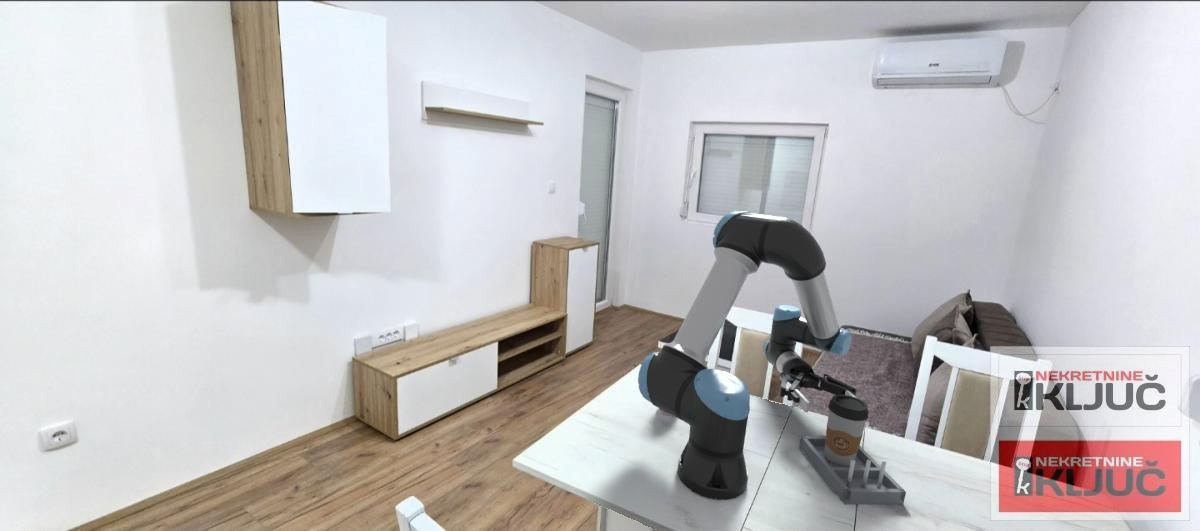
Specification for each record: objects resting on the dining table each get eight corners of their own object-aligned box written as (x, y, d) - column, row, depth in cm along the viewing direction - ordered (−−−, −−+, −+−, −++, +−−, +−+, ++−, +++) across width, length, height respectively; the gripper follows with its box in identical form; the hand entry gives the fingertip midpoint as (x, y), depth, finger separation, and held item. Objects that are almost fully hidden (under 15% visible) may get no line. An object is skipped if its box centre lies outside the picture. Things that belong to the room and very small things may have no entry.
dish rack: (799, 446, 118) (803, 419, 117) (849, 447, 119) (854, 420, 118) (844, 504, 99) (850, 472, 97) (903, 504, 100) (910, 473, 98)
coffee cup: (816, 461, 111) (827, 403, 108) (822, 444, 118) (832, 389, 115) (856, 475, 107) (868, 416, 103) (860, 457, 114) (871, 400, 110)
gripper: (834, 382, 138) (880, 422, 118) (751, 380, 137) (782, 420, 116) (838, 358, 137) (886, 394, 116) (754, 356, 135) (787, 392, 114)
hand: (834, 408), depth 116 cm, fingers open, 13 cm apart
